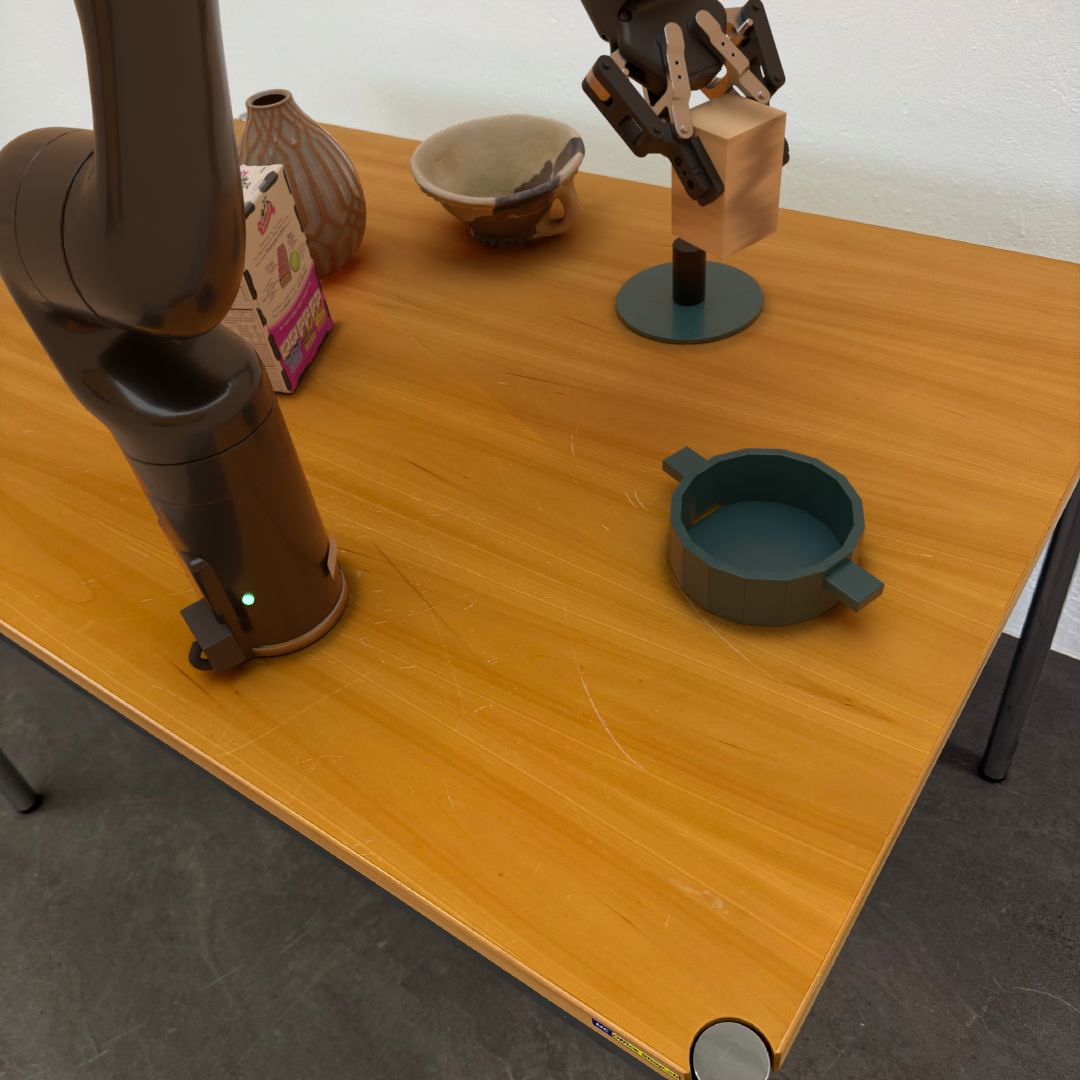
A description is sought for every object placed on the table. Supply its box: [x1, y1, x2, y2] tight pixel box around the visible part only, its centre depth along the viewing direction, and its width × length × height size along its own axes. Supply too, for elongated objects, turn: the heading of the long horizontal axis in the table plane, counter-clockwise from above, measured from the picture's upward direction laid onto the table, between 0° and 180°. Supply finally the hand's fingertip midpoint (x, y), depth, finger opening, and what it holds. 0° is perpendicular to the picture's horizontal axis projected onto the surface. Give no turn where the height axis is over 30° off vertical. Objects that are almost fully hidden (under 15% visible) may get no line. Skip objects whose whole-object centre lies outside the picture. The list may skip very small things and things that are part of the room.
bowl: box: [409, 113, 586, 249], centre depth 98 cm, size 18×18×10 cm
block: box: [670, 92, 788, 261], centre depth 61 cm, size 5×5×8 cm
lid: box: [615, 237, 764, 345], centre depth 86 cm, size 14×14×7 cm
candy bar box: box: [221, 164, 335, 394], centre depth 83 cm, size 11×5×16 cm, turn 168°
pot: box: [662, 445, 885, 627], centre depth 64 cm, size 12×18×5 cm
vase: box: [237, 88, 367, 281], centre depth 95 cm, size 13×13×18 cm
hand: (746, 182), depth 60 cm, fingers closed on block, 5 cm apart
